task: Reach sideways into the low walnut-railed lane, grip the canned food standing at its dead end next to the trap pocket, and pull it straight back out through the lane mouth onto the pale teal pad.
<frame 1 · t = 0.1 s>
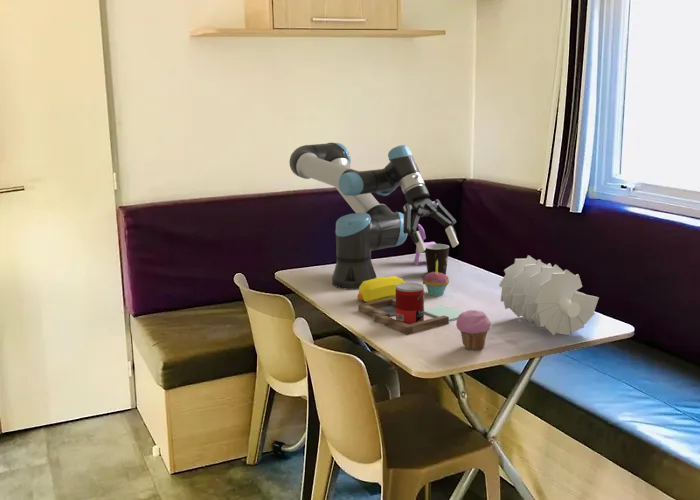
hand: (439, 248, 246), 15 cm above the table, tool tilted 35°, fingers open, 13 cm apart
spiral staircase: (544, 325, 217), on the table
cupcake 2: (473, 348, 201), on the table
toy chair: (426, 264, 290), on the table
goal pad: (444, 314, 229), on the table
coffee mug: (434, 275, 273), on the table
canned food: (409, 323, 222), resting in lane
lane: (414, 321, 223), on the table
yellow faceted block: (382, 299, 247), on the table
cupcake: (435, 294, 250), on the table
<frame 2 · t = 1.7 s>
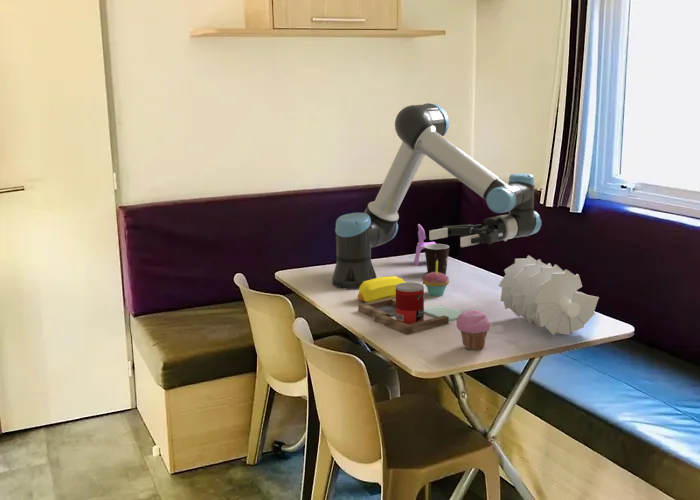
hand: (445, 238, 225), 23 cm above the table, tool horizontal, fingers open, 13 cm apart
nothing on the table moved.
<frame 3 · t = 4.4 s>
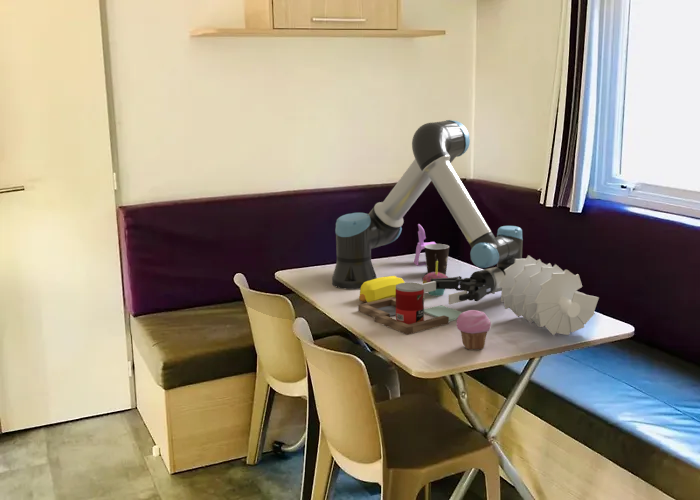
hand: (433, 294, 225), 7 cm above the table, tool horizontal, fingers open, 13 cm apart
nothing on the table moved.
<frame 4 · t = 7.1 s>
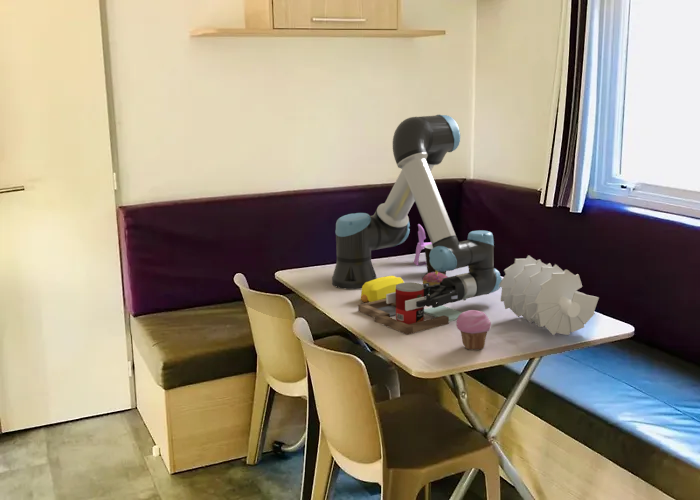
hand: (396, 302, 218), 7 cm above the table, tool horizontal, fingers closed on canned food, 8 cm apart
canned food: (410, 323, 222), resting in lane, touching gripper
everything else where it was.
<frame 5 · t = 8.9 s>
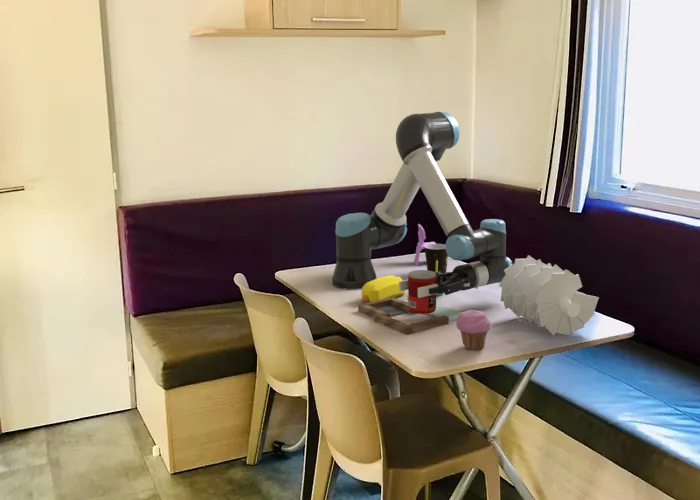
hand: (409, 289, 219), 10 cm above the table, tool horizontal, fingers closed on canned food, 8 cm apart
canned food: (422, 310, 224), point 3 cm above the table, touching gripper
when the fingers open (8 cm above the table, at t = 11.0 s): canned food stays where it is, resting on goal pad.
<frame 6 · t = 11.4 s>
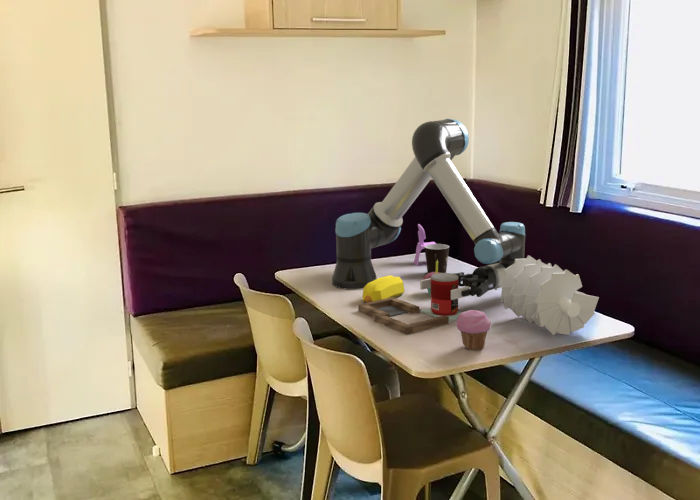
hand: (435, 289, 226), 8 cm above the table, tool horizontal, fingers open, 13 cm apart
canned food: (444, 312, 229), resting on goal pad
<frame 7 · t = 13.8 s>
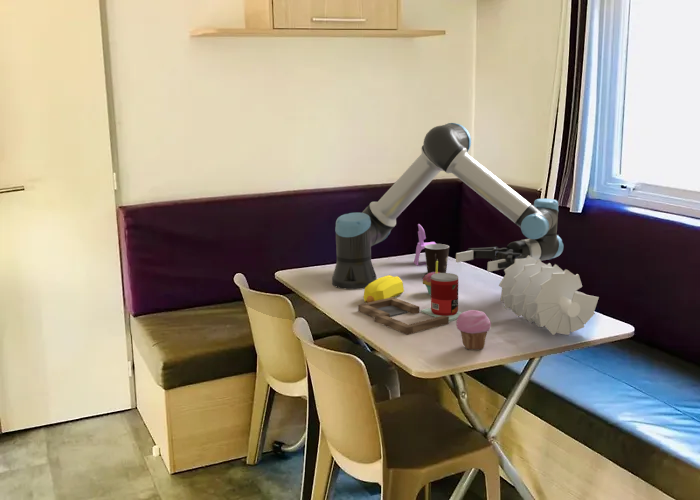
hand: (472, 262, 231), 14 cm above the table, tool horizontal, fingers open, 13 cm apart
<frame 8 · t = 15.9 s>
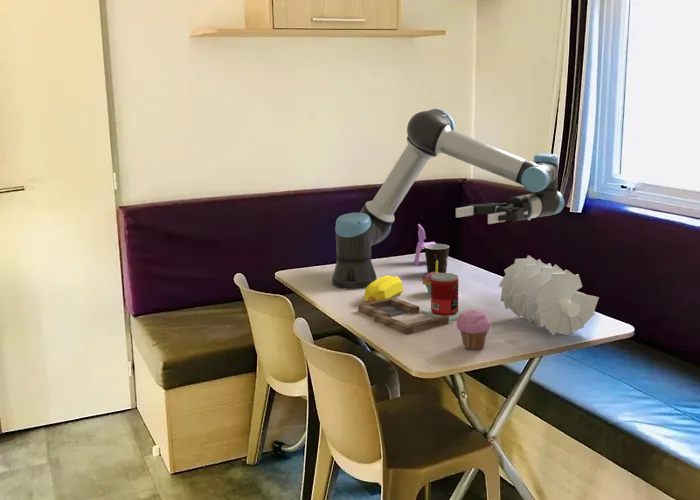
hand: (472, 216, 229), 28 cm above the table, tool horizontal, fingers open, 13 cm apart
at the end: canned food inside the target area (0.5 cm from its centre), resting on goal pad; canned food tilted 0°; the gripper is holding nothing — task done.
